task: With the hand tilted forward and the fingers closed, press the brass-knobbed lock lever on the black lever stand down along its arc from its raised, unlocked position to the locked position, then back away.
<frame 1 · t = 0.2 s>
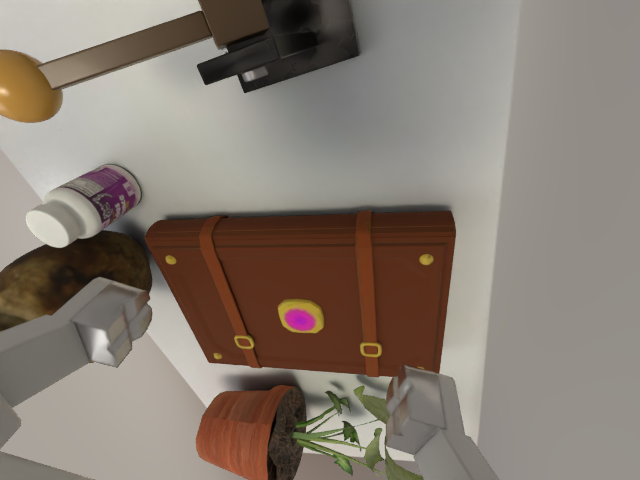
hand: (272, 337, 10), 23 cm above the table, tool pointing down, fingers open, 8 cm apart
potted plant: (322, 390, 53), on the table
book: (308, 286, 40), on the table
black lever stand: (285, 17, 24), on the table
lock lever: (127, 51, 16), point 12 cm above the table, hinge at 25.0°
brown lumpy potato: (137, 248, 42), on the table
pill bottle: (121, 184, 36), on the table
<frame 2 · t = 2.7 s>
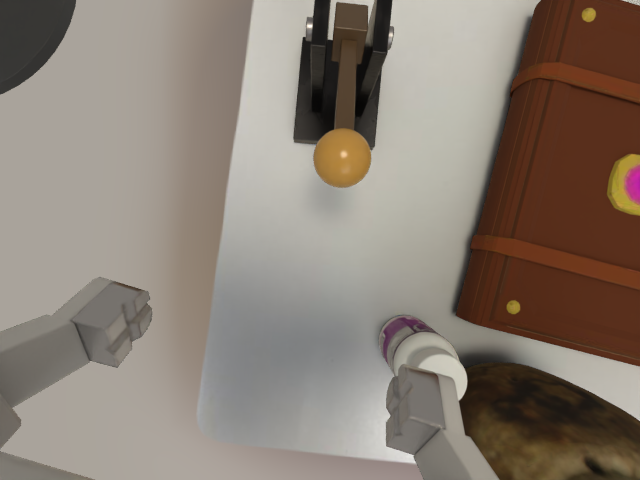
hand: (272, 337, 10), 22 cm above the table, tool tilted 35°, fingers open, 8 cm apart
book: (588, 191, 33), on the table
black lever stand: (337, 97, 32), on the table
lock lever: (345, 90, 20), point 12 cm above the table, hinge at 25.0°
brown lumpy potato: (478, 384, 33), on the table
pill bottle: (402, 338, 33), on the table
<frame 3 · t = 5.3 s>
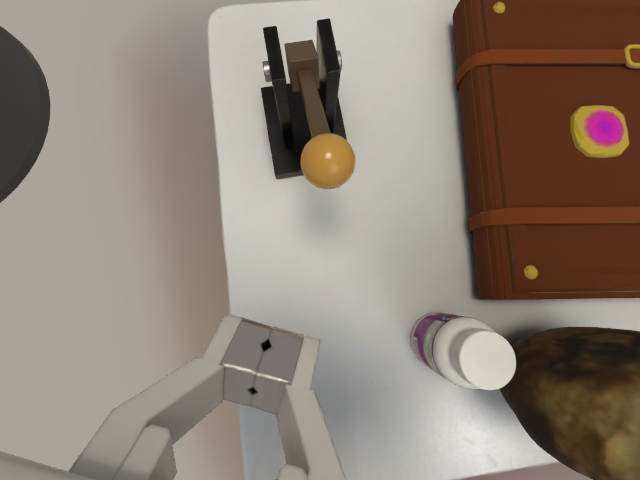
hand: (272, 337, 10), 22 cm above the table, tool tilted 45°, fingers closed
book: (557, 151, 35), on the table
black lever stand: (305, 130, 35), on the table
lock lever: (313, 108, 22), point 12 cm above the table, hinge at 25.0°
brown lumpy potato: (526, 365, 31), on the table
pill bottle: (435, 339, 32), on the table
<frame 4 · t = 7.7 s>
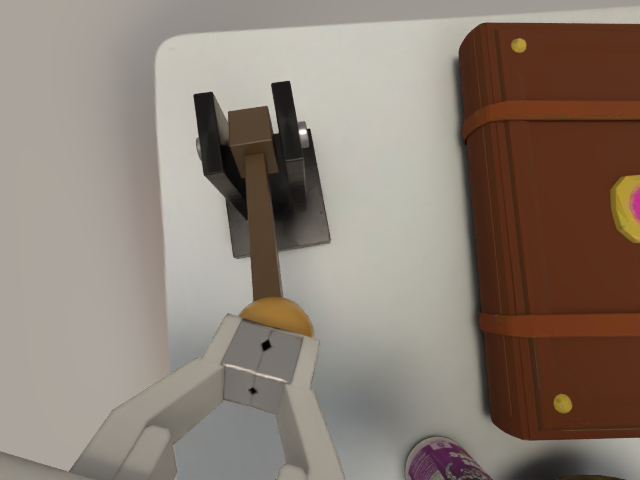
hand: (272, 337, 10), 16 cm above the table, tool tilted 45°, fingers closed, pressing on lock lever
book: (587, 221, 28), on the table
black lever stand: (274, 194, 28), on the table
lock lever: (261, 223, 15), point 12 cm above the table, hinge at 22.5°, touching gripper
pill bottle: (436, 469, 25), on the table
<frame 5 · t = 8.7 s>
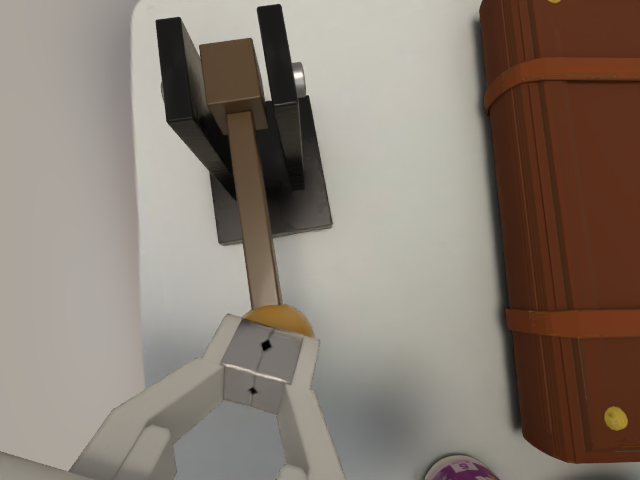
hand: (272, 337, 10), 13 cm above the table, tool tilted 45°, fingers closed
book: (629, 204, 24), on the table
black lever stand: (267, 172, 24), on the table
lock lever: (253, 210, 13), point 10 cm above the table, hinge at 1.5°, touching gripper
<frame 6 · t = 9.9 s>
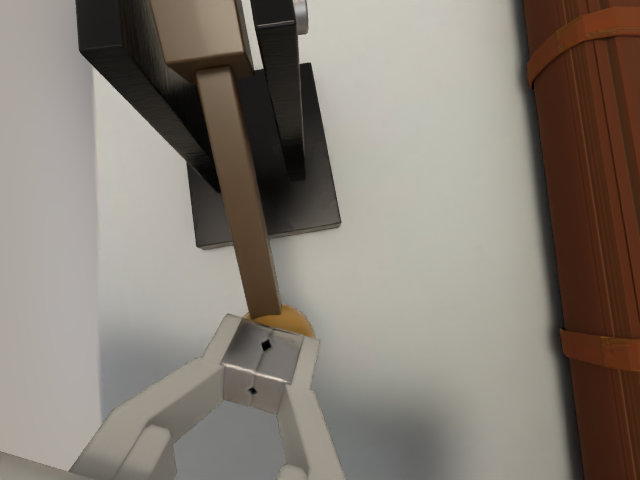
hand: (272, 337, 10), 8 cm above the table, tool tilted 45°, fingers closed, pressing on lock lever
black lever stand: (259, 158, 19), on the table
lock lever: (244, 206, 11), point 8 cm above the table, hinge at -23.0°, touching gripper
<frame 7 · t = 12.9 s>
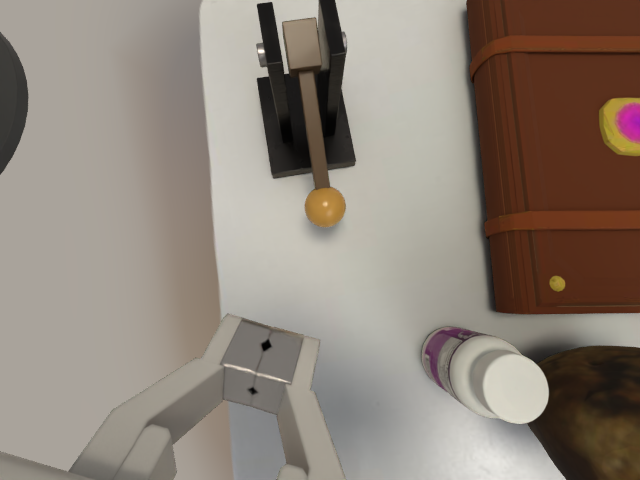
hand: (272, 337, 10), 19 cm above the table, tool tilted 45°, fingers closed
book: (581, 149, 32), on the table
black lever stand: (305, 125, 32), on the table
lock lever: (314, 134, 23), point 8 cm above the table, hinge at -24.4°
brown lumpy potato: (549, 384, 28), on the table
pill bottle: (448, 355, 29), on the table
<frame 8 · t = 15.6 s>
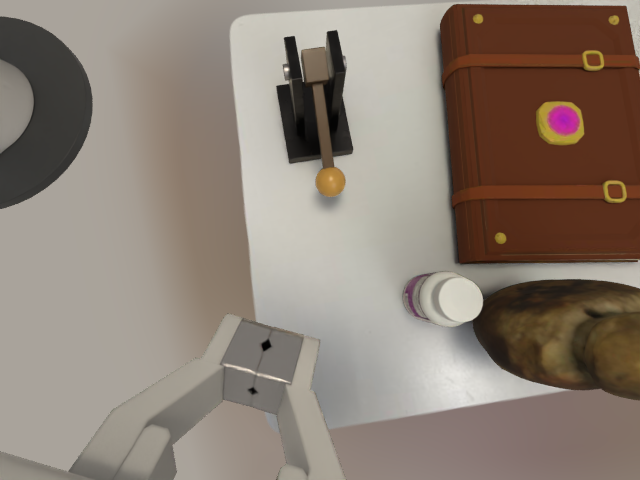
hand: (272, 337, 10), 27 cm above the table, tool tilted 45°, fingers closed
book: (528, 141, 41), on the table
black lever stand: (314, 122, 41), on the table
lock lever: (323, 128, 32), point 8 cm above the table, hinge at -24.4°
brown lumpy potato: (499, 318, 37), on the table
pill bottle: (423, 297, 38), on the table
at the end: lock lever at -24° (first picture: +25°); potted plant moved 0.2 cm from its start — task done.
